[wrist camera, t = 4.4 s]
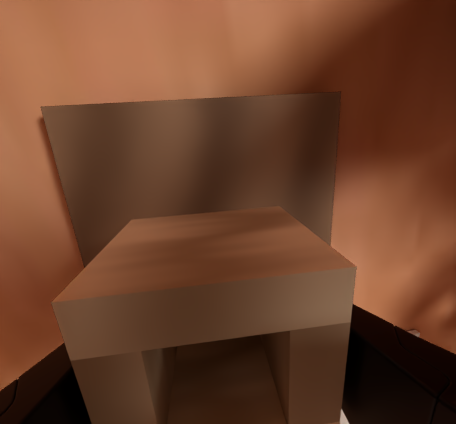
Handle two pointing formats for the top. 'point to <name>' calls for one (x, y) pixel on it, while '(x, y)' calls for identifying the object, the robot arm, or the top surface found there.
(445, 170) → the top surface
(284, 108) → the post stand
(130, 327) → the collar
